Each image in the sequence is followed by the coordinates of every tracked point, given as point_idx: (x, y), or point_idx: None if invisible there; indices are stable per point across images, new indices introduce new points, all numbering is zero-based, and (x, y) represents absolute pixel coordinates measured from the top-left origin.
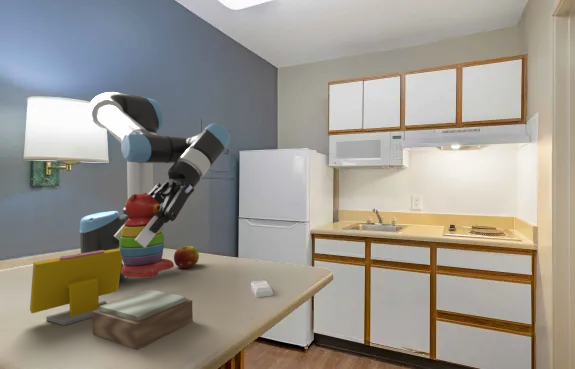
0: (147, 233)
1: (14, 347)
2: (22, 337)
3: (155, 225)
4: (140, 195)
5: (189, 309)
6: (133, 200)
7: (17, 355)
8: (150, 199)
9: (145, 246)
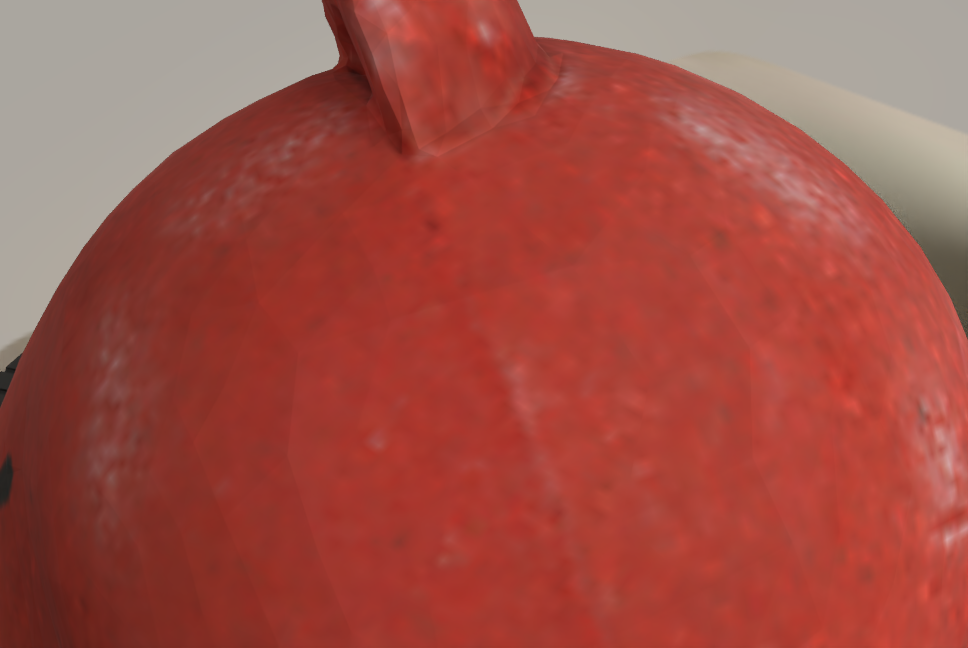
0: None
1: (851, 124)
2: (942, 188)
3: (2, 378)
4: (260, 212)
5: None
6: (331, 22)
7: (752, 95)
8: (38, 527)
9: None
